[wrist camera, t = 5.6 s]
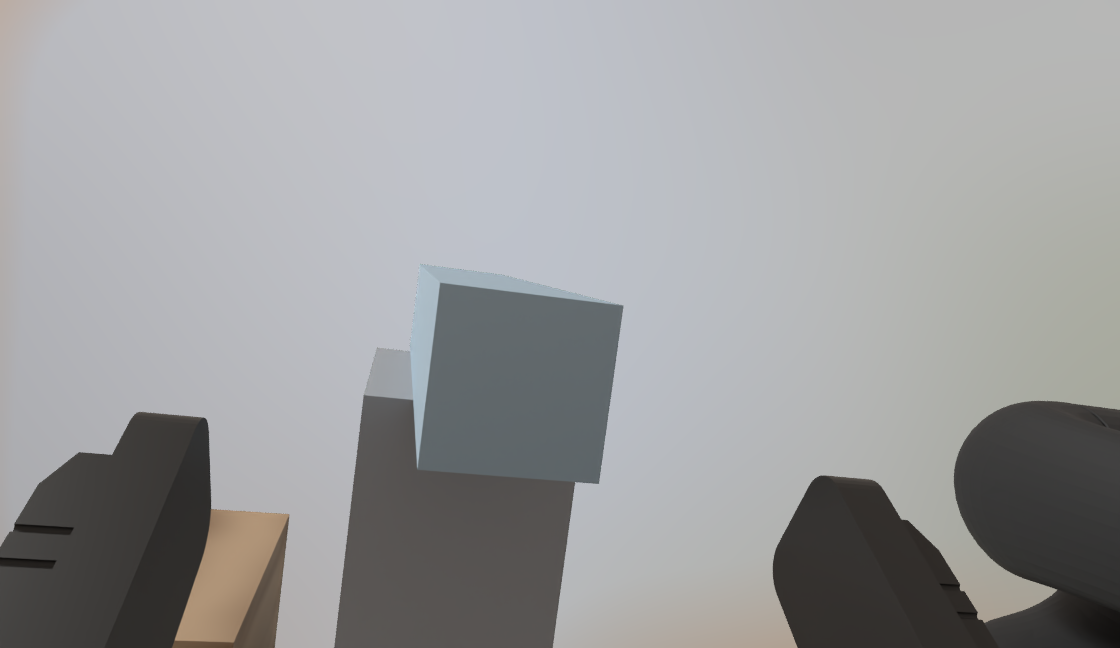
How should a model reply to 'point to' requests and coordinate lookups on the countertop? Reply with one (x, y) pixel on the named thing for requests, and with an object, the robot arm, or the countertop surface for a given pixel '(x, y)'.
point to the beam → (510, 376)
